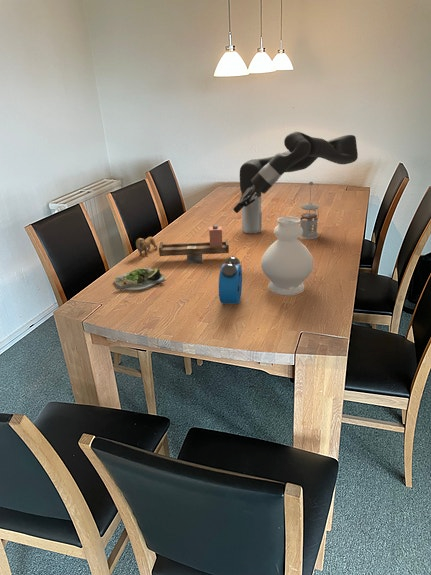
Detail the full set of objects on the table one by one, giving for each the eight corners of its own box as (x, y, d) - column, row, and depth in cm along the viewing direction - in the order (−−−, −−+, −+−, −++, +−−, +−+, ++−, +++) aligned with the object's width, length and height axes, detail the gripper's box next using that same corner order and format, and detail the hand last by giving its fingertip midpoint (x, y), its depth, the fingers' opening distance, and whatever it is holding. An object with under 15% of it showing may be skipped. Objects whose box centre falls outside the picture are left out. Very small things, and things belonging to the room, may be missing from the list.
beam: (228, 255, 184) (227, 239, 180) (229, 262, 177) (228, 244, 174) (162, 258, 184) (160, 242, 180) (160, 265, 177) (158, 248, 174)
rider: (222, 244, 180) (221, 223, 176) (222, 248, 176) (221, 227, 172) (209, 245, 180) (209, 224, 176) (210, 249, 176) (209, 227, 172)
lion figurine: (146, 260, 183) (143, 240, 179) (134, 259, 184) (132, 239, 180) (160, 248, 195) (158, 229, 191) (149, 247, 197) (147, 228, 193)
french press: (293, 236, 203) (295, 182, 192) (306, 229, 210) (309, 177, 199) (311, 240, 196) (315, 185, 186) (324, 233, 204) (328, 180, 193)
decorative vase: (300, 303, 144) (304, 231, 133) (252, 292, 152) (252, 223, 141) (319, 282, 157) (324, 215, 146) (274, 273, 166) (275, 209, 155)
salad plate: (128, 300, 151) (127, 288, 149) (102, 285, 163) (100, 273, 161) (172, 282, 163) (171, 271, 161) (145, 269, 175) (143, 259, 173)
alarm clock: (225, 292, 153) (224, 252, 146) (243, 293, 152) (242, 253, 145) (219, 310, 141) (217, 268, 135) (237, 311, 140) (237, 269, 134)
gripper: (275, 188, 161) (243, 222, 167) (270, 181, 173) (240, 212, 179) (261, 175, 159) (228, 209, 164) (257, 168, 171) (227, 200, 176)
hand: (234, 211), depth 171 cm, fingers closed
